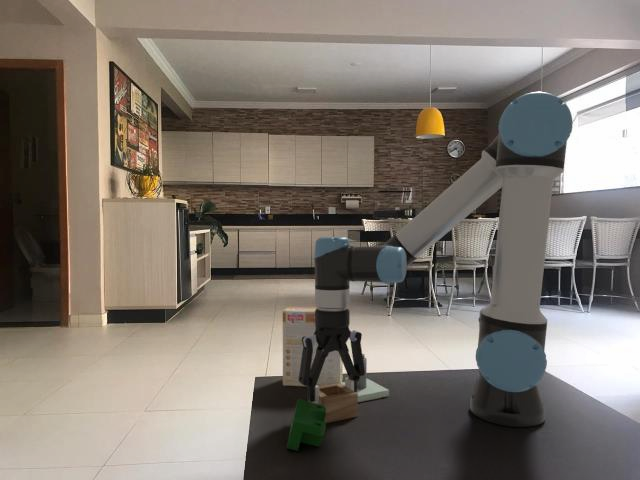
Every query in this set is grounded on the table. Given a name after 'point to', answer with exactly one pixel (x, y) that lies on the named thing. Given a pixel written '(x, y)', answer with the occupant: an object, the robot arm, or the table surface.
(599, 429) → the table surface
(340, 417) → the collar
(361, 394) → the sage green base plate
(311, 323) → the coffeecake box
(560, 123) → the robot arm
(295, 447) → the clamp
